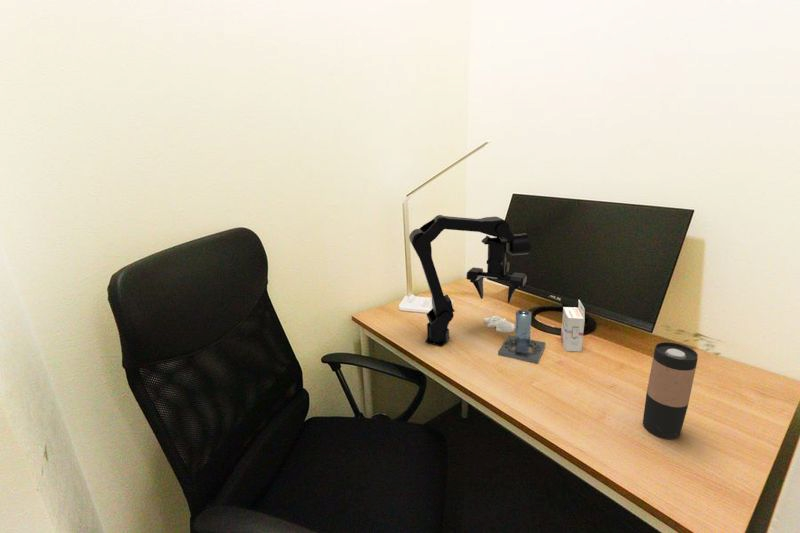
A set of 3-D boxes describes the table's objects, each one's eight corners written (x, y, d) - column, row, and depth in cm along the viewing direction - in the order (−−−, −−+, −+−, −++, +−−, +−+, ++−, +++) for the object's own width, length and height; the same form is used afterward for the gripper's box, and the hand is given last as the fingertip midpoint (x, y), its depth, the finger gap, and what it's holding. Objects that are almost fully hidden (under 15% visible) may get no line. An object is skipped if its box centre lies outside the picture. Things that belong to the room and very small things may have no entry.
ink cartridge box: (559, 338, 127) (563, 297, 123) (575, 339, 126) (579, 298, 122) (565, 351, 119) (569, 308, 115) (581, 352, 118) (586, 309, 114)
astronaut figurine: (498, 317, 145) (499, 310, 144) (519, 330, 135) (520, 322, 134) (479, 322, 142) (479, 315, 141) (499, 335, 132) (499, 327, 131)
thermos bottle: (517, 354, 119) (519, 314, 115) (512, 347, 123) (513, 308, 119) (531, 353, 119) (534, 313, 115) (525, 346, 123) (527, 307, 119)
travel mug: (633, 418, 89) (646, 343, 83) (664, 415, 90) (679, 340, 84) (657, 442, 82) (673, 361, 76) (690, 438, 83) (708, 358, 77)
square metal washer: (498, 354, 119) (498, 351, 119) (508, 338, 129) (508, 335, 129) (537, 363, 113) (537, 360, 113) (545, 345, 123) (545, 342, 123)
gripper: (531, 252, 125) (529, 296, 129) (477, 247, 134) (476, 288, 139) (523, 261, 116) (521, 308, 120) (466, 255, 125) (465, 299, 130)
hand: (495, 300), depth 127 cm, fingers open, 9 cm apart
